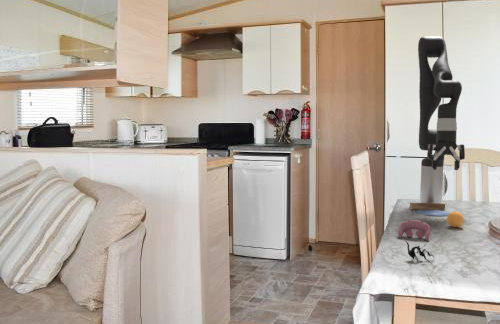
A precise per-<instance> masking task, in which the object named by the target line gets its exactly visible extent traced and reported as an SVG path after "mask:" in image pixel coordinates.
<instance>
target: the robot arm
mask: <svg viewBox="0 0 500 324" xmlns="http://www.w3.org/2000/svg"><path fill="white" fill-rule="evenodd" d="M417 44H418V45H417V52H418V53H417V54H418V68H419V69H418V70H419V85H418V86H419V89H418V90H419V92H418V94H419V96H418V97H419V126H418V127H419V128H418V145H419V146H418V147H419V149H420V150H421V151H426V152H427V153H426V154H427V155H426V157H424V158H422V159H421V163H420V164H421V166H420V168H421V169H420V189H419V190H420V191H419V203H443V201H442V200H443V183H444V182H443V180H444V163H445V155H446V156H451V157H452V158H453V159H454V168H453V169H454V171H459V169H460V165H461V160H465V159H466V157H465V156H466V155H465V154H466V153H465V152H466V151H465V144H463V143H462V144H457V128H458V127H457V125H458V124H457V107H458V104H459V99H460V97H461V94H462V90H463V85H462V83H461V81H459V80H453V77H454V76H453V73H452V70H451V68H450V66H449V64H450V63H449V59H448V51H447V45H446V41H445V39H444V37H442V36H422V37H420V38H419V40H418V43H417ZM429 58H430V59H432V58H433V59H435V58H437V59H436V60H435V62H434V63H433V65H432V68H431V66H430V63H429ZM442 99H450V100H449V102H447V103H442V104H441V101H442ZM436 110H437V121H436V129H429V123H430V120H431V118H432V116H433V115H434V113H435V111H436ZM456 150H458V151H459V152H458V153H459V155H458V153H457V152H456ZM433 151H434V153H433Z"/></svg>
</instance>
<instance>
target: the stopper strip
mask: <svg viewBox="0 0 500 324" xmlns="http://www.w3.org/2000/svg"><path fill="white" fill-rule="evenodd" d="M409 209H410V210H423V209H431V210H441V211H445V210H446V203H443V202H442V203H420V202H409Z"/></svg>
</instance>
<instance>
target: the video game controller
mask: <svg viewBox="0 0 500 324" xmlns="http://www.w3.org/2000/svg"><path fill="white" fill-rule="evenodd" d="M398 227H399V228H398V232H397V237H398V239H401V238H402V237H403V235H404V234H405V235H406V237H407V238H411V237H413V236H414V232H413V230H417V231H416V232H415V235H416V238H417V239H422V238H423V237H424V240H425V241H426V242H428V241H429V240H430V238H431V226H430V225H429V224H428V223H427V222H425V221H421V220H419V219H410V220H409V219H408V220H403V221H402V222H401V223H400V224H399V226H398Z"/></svg>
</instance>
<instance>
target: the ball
mask: <svg viewBox="0 0 500 324" xmlns="http://www.w3.org/2000/svg"><path fill="white" fill-rule="evenodd" d="M449 213H450V214H449V215H448V216H446V221H447V223H448V225H449V226H450V227H453V228H459V227H461V226H463V223H464V222H465V218H464V216H463V214H462V213H460V212H459V211H452V212H449Z"/></svg>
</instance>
